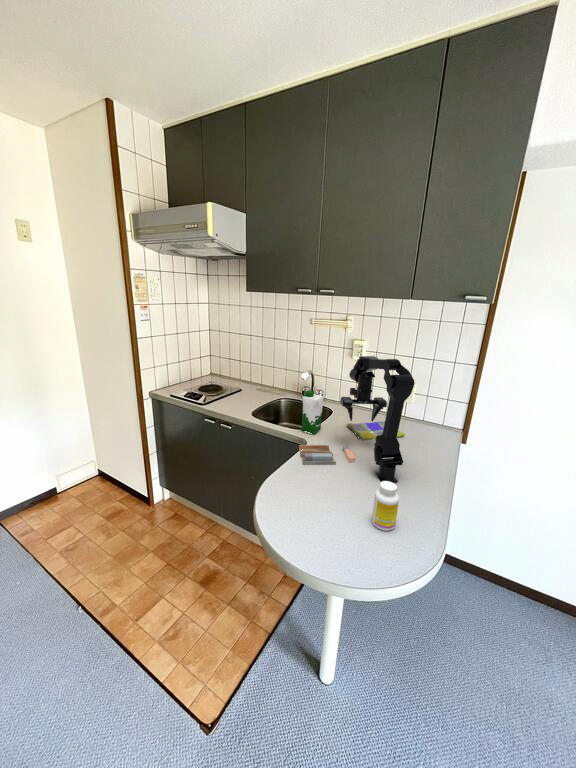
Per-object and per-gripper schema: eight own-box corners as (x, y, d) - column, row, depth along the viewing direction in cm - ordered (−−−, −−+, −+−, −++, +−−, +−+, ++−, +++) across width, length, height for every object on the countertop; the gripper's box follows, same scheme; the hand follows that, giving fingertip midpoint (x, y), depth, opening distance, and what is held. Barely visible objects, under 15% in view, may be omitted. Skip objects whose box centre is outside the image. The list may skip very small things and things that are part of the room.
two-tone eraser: (354, 463, 126) (355, 458, 125) (348, 463, 125) (349, 458, 125) (347, 450, 136) (348, 445, 136) (342, 450, 136) (342, 445, 135)
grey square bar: (330, 459, 127) (331, 453, 127) (332, 462, 125) (332, 456, 124) (304, 458, 126) (304, 453, 126) (304, 462, 124) (305, 456, 123)
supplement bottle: (398, 531, 89) (404, 492, 86) (376, 532, 89) (381, 492, 85) (389, 515, 96) (394, 478, 92) (368, 516, 95) (373, 479, 92)
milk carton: (306, 426, 161) (308, 388, 155) (323, 430, 156) (325, 392, 151) (298, 432, 153) (300, 392, 148) (315, 436, 149) (318, 396, 144)
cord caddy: (335, 466, 123) (336, 462, 123) (302, 466, 122) (303, 462, 122) (328, 448, 137) (328, 445, 137) (298, 448, 136) (299, 444, 136)
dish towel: (405, 439, 152) (406, 433, 151) (358, 441, 147) (358, 436, 146) (387, 425, 168) (388, 420, 167) (344, 426, 163) (345, 421, 163)
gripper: (380, 381, 140) (376, 414, 143) (338, 380, 139) (336, 414, 142) (389, 388, 129) (385, 423, 133) (344, 387, 128) (341, 423, 132)
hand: (361, 420), depth 135 cm, fingers open, 9 cm apart
